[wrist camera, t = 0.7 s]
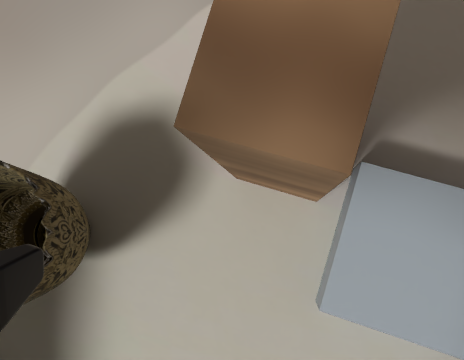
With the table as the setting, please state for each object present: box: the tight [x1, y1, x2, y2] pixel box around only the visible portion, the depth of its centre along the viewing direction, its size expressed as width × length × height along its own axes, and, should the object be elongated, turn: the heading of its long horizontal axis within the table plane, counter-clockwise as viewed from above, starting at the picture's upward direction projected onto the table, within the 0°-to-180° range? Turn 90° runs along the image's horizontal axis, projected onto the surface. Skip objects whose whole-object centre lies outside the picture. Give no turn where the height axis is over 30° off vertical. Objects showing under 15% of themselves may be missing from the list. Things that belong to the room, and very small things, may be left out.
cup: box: [0, 161, 90, 304], centre depth 21 cm, size 8×7×8 cm
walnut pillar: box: [174, 0, 401, 202], centre depth 17 cm, size 5×5×13 cm
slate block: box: [316, 162, 464, 360], centre depth 21 cm, size 8×8×3 cm
